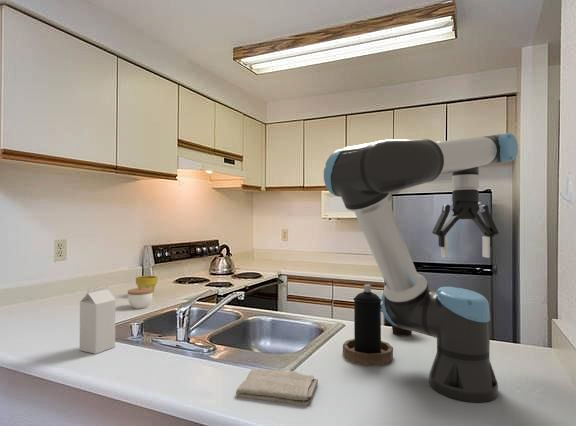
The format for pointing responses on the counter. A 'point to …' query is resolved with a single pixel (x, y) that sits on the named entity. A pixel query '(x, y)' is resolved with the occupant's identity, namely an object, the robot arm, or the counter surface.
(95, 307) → the milk carton
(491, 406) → the counter surface
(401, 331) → the coffee mug
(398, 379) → the counter surface
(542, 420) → the counter surface
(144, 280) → the plant pot
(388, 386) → the counter surface
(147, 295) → the lidded jar
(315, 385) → the washcloth
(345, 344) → the round tray
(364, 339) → the aerosol can
